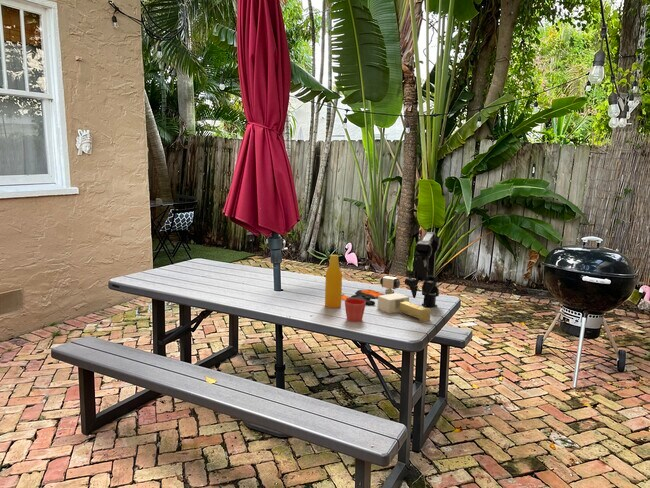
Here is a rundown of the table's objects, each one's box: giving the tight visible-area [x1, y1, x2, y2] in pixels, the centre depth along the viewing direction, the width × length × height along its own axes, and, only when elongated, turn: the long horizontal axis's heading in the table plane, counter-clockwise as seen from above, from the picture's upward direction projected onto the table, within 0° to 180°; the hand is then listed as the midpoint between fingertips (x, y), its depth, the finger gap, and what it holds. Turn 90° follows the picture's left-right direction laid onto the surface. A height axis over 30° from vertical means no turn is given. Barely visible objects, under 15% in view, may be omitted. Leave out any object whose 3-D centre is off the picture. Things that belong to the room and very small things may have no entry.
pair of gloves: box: [341, 289, 386, 306], centre depth 279 cm, size 27×24×3 cm
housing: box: [377, 292, 410, 314], centre depth 258 cm, size 14×10×7 cm
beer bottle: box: [324, 254, 343, 309], centre depth 260 cm, size 9×9×29 cm
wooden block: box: [398, 301, 432, 323], centre depth 244 cm, size 6×17×6 cm, turn 32°
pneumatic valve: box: [379, 275, 401, 295], centre depth 289 cm, size 6×12×12 cm, turn 51°
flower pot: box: [344, 299, 367, 323], centre depth 238 cm, size 11×11×10 cm
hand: (420, 296), depth 240 cm, fingers open, 9 cm apart
